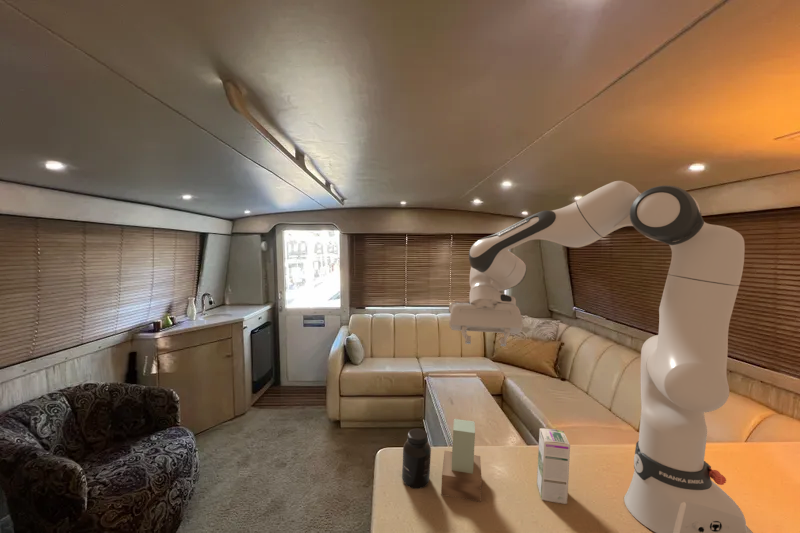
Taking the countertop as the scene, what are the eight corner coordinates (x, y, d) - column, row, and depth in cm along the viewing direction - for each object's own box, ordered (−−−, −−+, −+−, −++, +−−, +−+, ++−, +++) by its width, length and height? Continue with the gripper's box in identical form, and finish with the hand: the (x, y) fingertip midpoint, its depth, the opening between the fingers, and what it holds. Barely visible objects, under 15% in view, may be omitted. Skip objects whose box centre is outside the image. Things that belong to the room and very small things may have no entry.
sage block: (472, 459, 83) (474, 421, 82) (473, 473, 78) (475, 433, 77) (452, 456, 84) (454, 418, 83) (451, 470, 79) (453, 430, 78)
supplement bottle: (397, 484, 81) (398, 436, 80) (408, 466, 87) (410, 422, 86) (423, 494, 78) (425, 445, 77) (433, 475, 84) (435, 430, 83)
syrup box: (567, 505, 76) (572, 444, 74) (540, 500, 77) (544, 440, 76) (560, 486, 81) (565, 430, 80) (535, 482, 82) (539, 426, 81)
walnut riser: (479, 474, 85) (480, 456, 84) (480, 501, 76) (481, 481, 75) (443, 468, 86) (444, 450, 86) (441, 494, 78) (441, 474, 77)
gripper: (449, 295, 99) (447, 336, 91) (521, 297, 96) (526, 340, 87) (449, 307, 104) (447, 347, 95) (518, 309, 100) (522, 352, 91)
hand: (485, 344), depth 91 cm, fingers open, 8 cm apart
